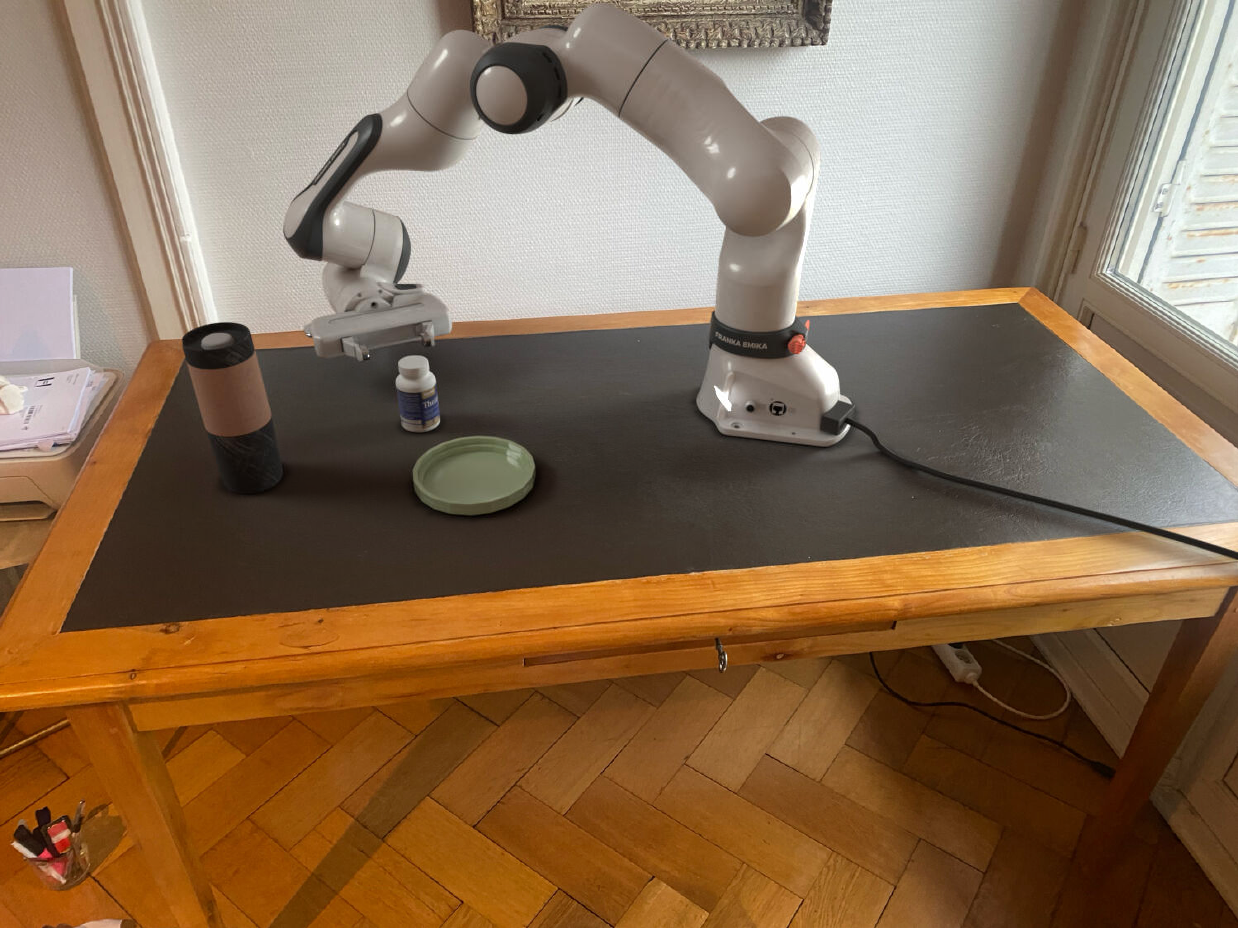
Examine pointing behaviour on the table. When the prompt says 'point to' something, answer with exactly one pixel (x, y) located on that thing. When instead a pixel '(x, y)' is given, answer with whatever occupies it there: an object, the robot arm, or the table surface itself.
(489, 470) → the dish
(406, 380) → the pill bottle
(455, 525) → the table surface
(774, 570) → the table surface
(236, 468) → the travel mug
